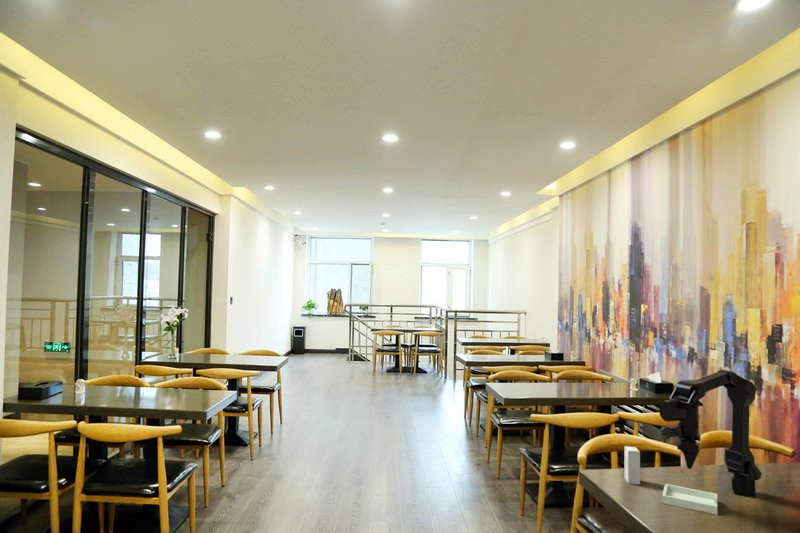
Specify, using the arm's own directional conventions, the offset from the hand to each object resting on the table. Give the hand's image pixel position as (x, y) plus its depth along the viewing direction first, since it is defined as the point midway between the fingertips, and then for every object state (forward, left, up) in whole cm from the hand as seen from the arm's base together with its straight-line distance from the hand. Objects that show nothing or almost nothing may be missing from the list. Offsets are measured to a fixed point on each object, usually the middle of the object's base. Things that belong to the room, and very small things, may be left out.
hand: (689, 466), depth 169 cm
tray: (0, 0, -12) cm, 12 cm away
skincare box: (+19, -9, -12) cm, 24 cm away
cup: (0, 0, -2) cm, 2 cm away
